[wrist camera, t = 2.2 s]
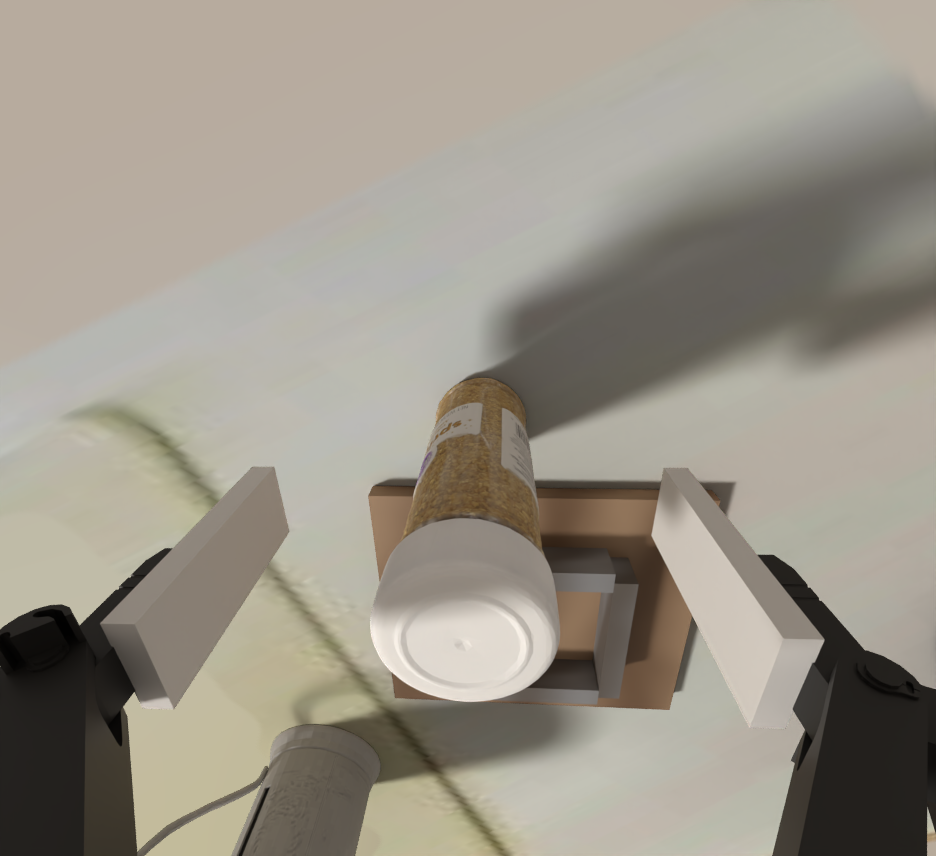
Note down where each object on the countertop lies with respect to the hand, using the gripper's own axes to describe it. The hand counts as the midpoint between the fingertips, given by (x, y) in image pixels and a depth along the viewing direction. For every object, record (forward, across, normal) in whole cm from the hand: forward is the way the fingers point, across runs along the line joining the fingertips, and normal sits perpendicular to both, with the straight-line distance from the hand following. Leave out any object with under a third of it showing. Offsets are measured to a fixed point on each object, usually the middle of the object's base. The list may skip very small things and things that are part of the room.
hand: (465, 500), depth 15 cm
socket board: (+8, -3, +12) cm, 15 cm away
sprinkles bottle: (+8, 0, 0) cm, 8 cm away
